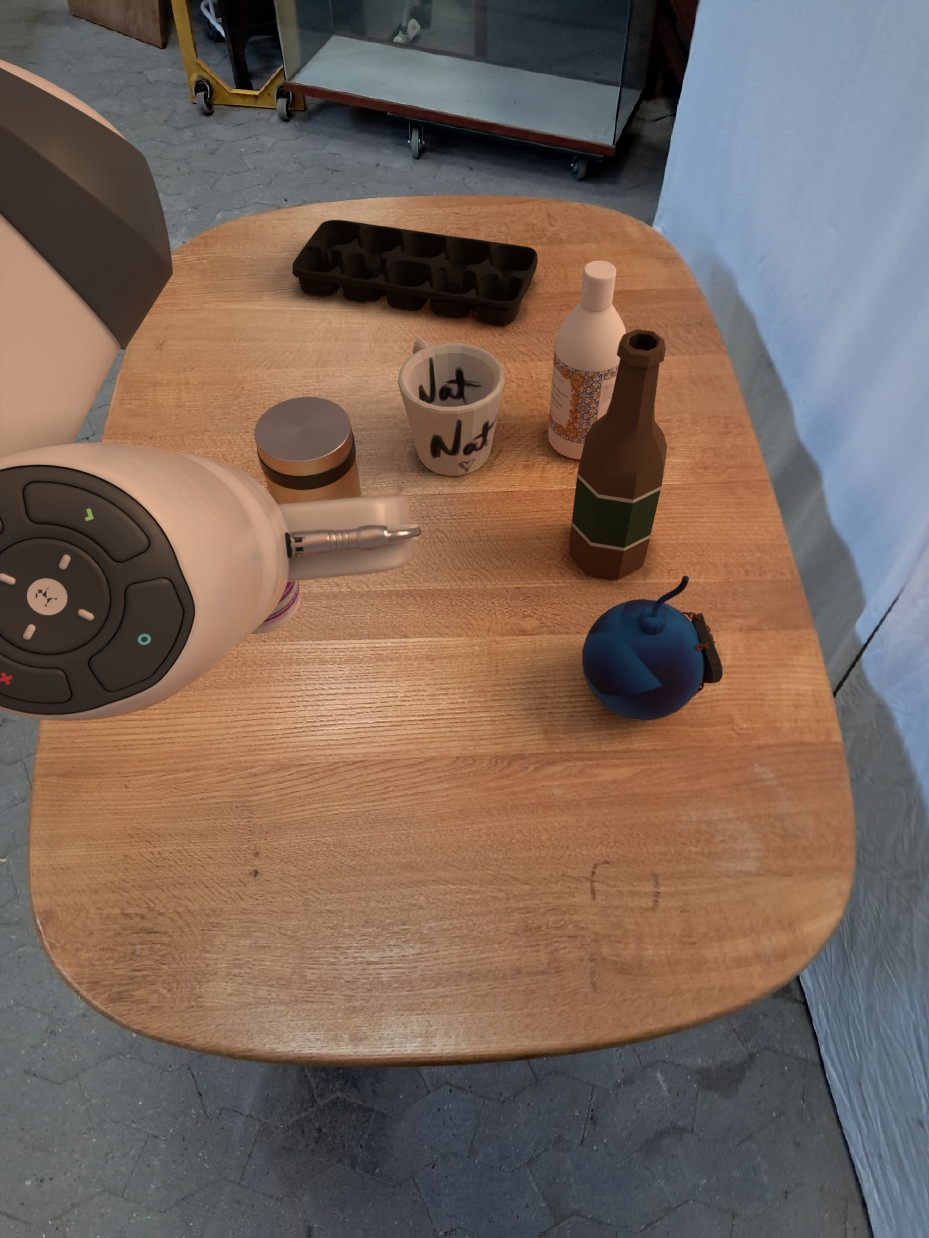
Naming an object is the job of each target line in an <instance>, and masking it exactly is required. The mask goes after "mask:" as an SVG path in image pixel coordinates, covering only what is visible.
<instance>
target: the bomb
mask: <svg viewBox="0 0 929 1238" xmlns="http://www.w3.org/2000/svg"><path fill="white" fill-rule="evenodd" d="M689 581H690V577H689V576H688V575H683V576H682V577H681V580H680V583H679V584H678V585H677V586H676V587H675V588H674V589H672V590H670V591H668V592H667V593H665V594H663V595H661V596H659V598H658V599H657V600H656V599H648V598H639V599H637V598H636V599H631V600H627V601H624V602H620V603H618V604H616V605H614V606H612V607H610V608H609V609H608V610H606V611H605V612H603V613H602V614H601V615H600V616H599V617H598V618H597V619H596V620H595V622H594V623H593V624H592V626H591V627H590V629H589V631H588V633H587V634H586V636H585V639H584V643H583V646H582V649H581V665H582V673H583V676H584V679H585V682H586V684H587V686H588V689H589V690H590V692H591V693H592V695H593V696H594V698H595V699H596V700H597V701H598V702H599V703H600V704H601V705H603V706H604V707H605V708H606V709H607V710H609V711H610V712H612V713H614V714H615V715H617V716H620V717H623V718H626V719H629V720H635V721H642V722H643V721H654V720H659V719H664V718H666V717H668V716H670V715H673V714H675V713H676V712H678V711H679V710H681V709H682V708H683V707H685V705H687V704H688V703H690V701H691V700H692V699H693V698H694V697H696V695H698V693H699V692H701V691H703V689H704V688H705V687H704V686H705V684H706V685H707V684H708V685H709V684H717V683H720V682H721V680H722V678H723V675H724V673H723V672H724V671H723V670H724V669H723V665H722V660H721V658H720V655H719V652H718V650H717V647H716V640H714V635H713V634H712V633H711V627H710V626H709V625H707V622H706V620H705V616H704V614H703V613H702V612H699V613H695V612H693V611H690V612H689V611H688V612H687V611H681V610H679V609H677V608H675V607H674V606H672V605H670V604H668V603H666V602H668V601H669V600H671V599H673V598H675V597H677V596H678V595H680V594H681V593H682V592H683V591H684V590H685V589H686V588H687V586H688V583H689ZM687 616H688V617H687ZM690 619H691V620H690Z"/></svg>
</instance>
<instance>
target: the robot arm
mask: <svg viewBox="0 0 929 1238" xmlns="http://www.w3.org/2000/svg"><path fill="white" fill-rule="evenodd" d="M173 268H174V267H173V258H172V250H171V243H170V238H169V231H168V226H167V222H166V217H165V213H164V210H163V205H162V202H161V198H160V196H159V191H158V188H157V185H156V182H155V179H154V176H153V173H152V171H151V167H150V165H149V163H148V160H147V158H146V156H145V155H144V154H143V152H142V151H140V149H138V148H137V147H135V146H134V145H133V144H132V143H130V142H129V141H128V140H127V138H126V137H124V136H123V134H122V133H121V132H120V131H119V130H118V129H117V128H116V127H115V126H114V125H113V124H111V122H110V121H108V120H107V119H106V118H105V117H104V116H102V115H101V114H100V113H99V112H98V111H96V110H95V109H93V108H92V107H91V106H89V104H87V103H86V102H84V101H82V100H81V99H80V98H78V97H76V96H75V95H74V94H72V93H70V92H69V91H67V90H65V89H64V88H62V87H60V86H58V85H56V84H54V83H53V82H52V81H49V80H47V79H45V78H43V76H40V75H37V74H35V73H34V72H31V71H29V70H27V69H25V68H22V67H21V66H18V65H15V64H13V63H10V62H8V61H6V60H3V59H0V711H1V712H3V713H7V714H9V715H13V716H18V717H21V718H27V719H32V720H33V719H34V720H41V721H52V722H78V721H79V722H81V721H82V722H83V721H84V722H85V721H95V720H104V719H111V718H115V717H122V716H126V715H129V714H132V713H133V714H134V713H137V712H139V711H144V710H147V709H148V708H151V707H153V706H155V705H158V704H160V703H163V702H165V701H166V700H168V699H170V698H171V697H174V696H176V695H177V694H179V693H180V692H182V691H184V690H186V689H187V688H188V687H190V686H191V685H193V684H194V683H196V682H198V681H199V680H200V679H201V678H203V677H205V675H207V674H208V673H209V672H210V671H211V670H213V669H214V668H215V667H216V666H218V665H219V663H221V662H222V661H223V660H224V659H225V658H227V657H228V656H229V655H230V653H231V652H232V651H233V650H234V649H235V648H236V647H237V646H238V645H240V644H241V643H242V642H243V641H244V640H246V639H247V638H248V637H249V636H250V635H252V634H251V633H252V632H253V631H254V630H255V629H256V628H257V627H258V626H259V625H260V624H261V623H262V622H264V621H265V619H266V618H267V617H268V616H269V615H270V614H271V613H272V611H273V610H274V609H275V607H276V606H277V604H278V602H279V601H280V599H281V597H282V595H283V593H284V590H285V588H286V585H287V582H292V581H299V582H300V581H301V582H302V581H303V582H304V581H310V580H311V581H312V580H322V579H333V578H341V577H344V578H345V577H354V576H355V577H356V576H363V575H371V574H372V575H373V574H376V573H382V572H387V571H392V570H397V569H399V568H403V567H404V566H406V565H407V564H409V563H411V562H412V561H413V559H415V558H414V557H415V542H419V541H420V537H421V535H422V529H421V528H420V527H419V526H420V525H419V523H418V522H416V521H413V520H412V512H411V511H412V510H411V501H410V499H409V497H408V495H406V494H403V493H390V494H389V493H388V494H377V495H366V496H365V495H364V496H362V497H354V498H343V499H332V500H320V501H309V502H298V503H287V504H277V503H276V502H275V500H274V499H273V497H272V496H271V495H270V493H269V491H268V489H267V488H266V487H264V485H262V484H261V482H260V481H258V479H256V477H254V476H252V475H251V474H250V473H249V472H247V471H246V470H244V469H242V468H240V467H239V466H237V465H235V464H233V463H230V462H228V461H225V460H224V459H220V458H217V457H214V456H213V457H212V456H207V455H203V454H197V453H193V452H192V453H191V452H186V451H179V450H169V449H166V448H162V447H157V446H152V445H147V444H139V443H126V442H78V443H77V442H74V441H75V439H76V437H78V434H79V432H80V429H81V427H82V425H83V423H84V422H85V420H86V418H87V415H88V413H89V412H90V409H91V407H92V405H93V404H94V402H95V400H96V397H97V396H98V393H99V391H101V390H100V389H101V388H102V386H103V384H104V382H105V379H106V377H107V376H108V373H109V371H110V369H111V367H112V366H113V364H114V361H115V359H116V357H117V356H118V353H119V351H120V350H122V351H126V348H127V347H128V345H129V344H130V343H131V341H132V339H133V338H134V336H135V334H137V332H138V330H139V329H140V327H141V325H142V323H143V322H144V320H145V319H146V317H147V316H148V314H149V313H150V311H151V309H152V307H154V304H155V303H156V301H157V300H158V298H159V296H160V295H161V293H162V292H163V291H164V289H165V287H166V286H167V284H168V282H169V281H170V279H171V278H172V276H173V274H174V269H173Z"/></svg>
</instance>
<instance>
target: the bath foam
mask: <svg viewBox="0 0 929 1238" xmlns="http://www.w3.org/2000/svg"><path fill="white" fill-rule="evenodd" d="M616 279H617V268H616V266H615V265H614V264H612V263H611V262H610V261H609V262H608V261H606V260H592V261H590V262H588V263H587V264H585V265H584V267H583V270H582V279H581V280H582V281H581V289H580V301H579V302H578V303H577V304H576V305H575V306H574V307H573V309H571V310H570V312H569V313H568V314H567V315H566V317H565V318H564V319H563V321H562V323H561V325H560V326H559V329H558V331H557V334H556V337H555V343H554V349H553V361H552V363H553V364H552V372H551V373H552V374H551V375H552V376H551V386H550V387H551V389H550V400H549V414H548V429H547V438H548V441H549V443H550V445H551V446H552V448H553V449H554V450H555V451H556V452H557V453H559V454H560V455H562V456H564V457H566V458H569V459H572V460H573V459H574V460H580V459H581V455H582V451H583V446H584V442H585V438H586V434H587V433H588V431H589V429H590V428H591V426H592V425H593V423H594V422H596V421H597V420H598V419H600V418H601V417H602V416H603V415H605V414H606V412H607V410H608V407H609V404H610V401H611V398H612V393H613V389H614V384H615V380H616V375H617V371H618V366H619V362H620V357H619V356H617V351H618V346H619V342H620V340H621V338H622V336H623V335H624V334H626V333H627V331H626V327H625V325H624V322H623V320H622V318H621V316H620V315H619V313H618V311H617V309H616V308H615V306H614V304H613V299H614V292H615V284H616Z"/></svg>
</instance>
